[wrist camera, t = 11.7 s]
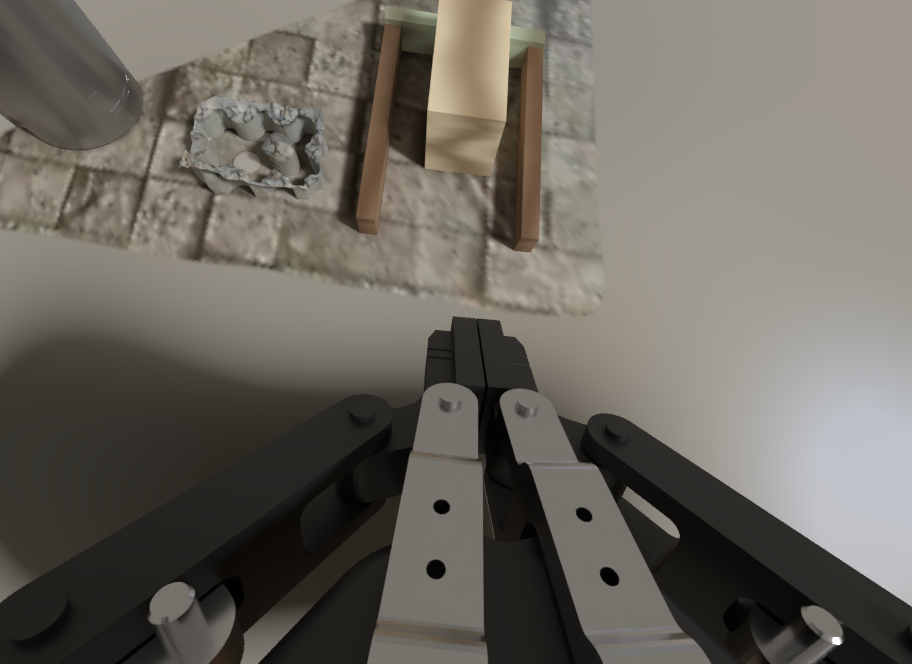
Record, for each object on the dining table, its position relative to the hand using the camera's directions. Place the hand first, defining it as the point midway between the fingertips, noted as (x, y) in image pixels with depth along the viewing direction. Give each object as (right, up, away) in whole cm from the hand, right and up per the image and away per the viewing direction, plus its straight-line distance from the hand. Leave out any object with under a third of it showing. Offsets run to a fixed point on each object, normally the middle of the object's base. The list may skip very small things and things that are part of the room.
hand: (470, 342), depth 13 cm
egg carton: (-17, +15, +23) cm, 32 cm away
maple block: (0, +21, +26) cm, 33 cm away
